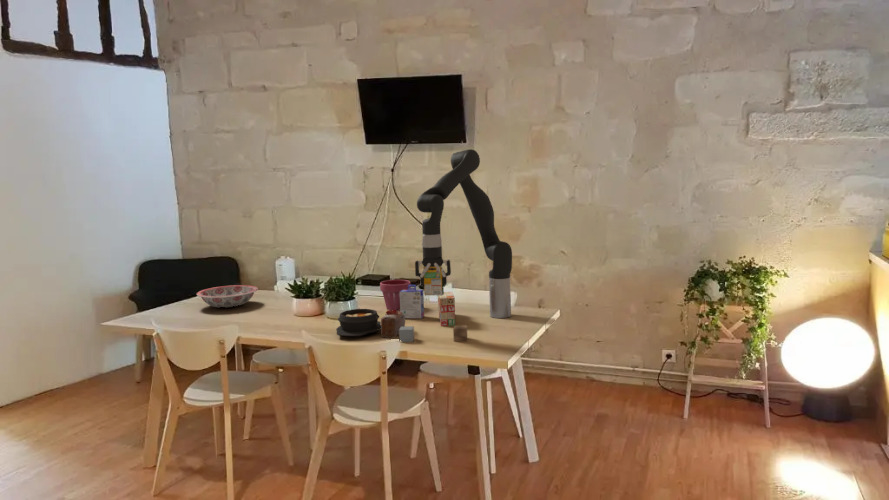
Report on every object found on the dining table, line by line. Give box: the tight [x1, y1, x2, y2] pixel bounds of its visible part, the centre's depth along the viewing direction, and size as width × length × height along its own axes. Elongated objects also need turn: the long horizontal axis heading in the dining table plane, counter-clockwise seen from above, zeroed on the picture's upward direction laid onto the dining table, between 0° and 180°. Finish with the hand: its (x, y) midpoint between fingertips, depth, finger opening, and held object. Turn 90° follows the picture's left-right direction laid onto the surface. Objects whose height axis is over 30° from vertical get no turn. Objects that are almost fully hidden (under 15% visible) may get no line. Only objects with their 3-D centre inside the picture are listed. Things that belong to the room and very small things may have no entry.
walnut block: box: [453, 325, 468, 342], centre depth 267 cm, size 5×5×5 cm
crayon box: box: [423, 266, 445, 297], centre depth 272 cm, size 7×3×12 cm, turn 78°
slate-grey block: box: [398, 326, 415, 343], centre depth 268 cm, size 5×5×5 cm
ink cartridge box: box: [399, 284, 425, 319], centre depth 305 cm, size 10×6×14 cm, turn 78°
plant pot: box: [379, 279, 412, 311], centre depth 324 cm, size 14×14×13 cm
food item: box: [380, 310, 406, 338], centre depth 279 cm, size 14×8×10 cm, turn 171°
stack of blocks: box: [437, 291, 456, 327], centre depth 298 cm, size 21×6×12 cm, turn 3°
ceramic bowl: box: [196, 284, 259, 308], centre depth 342 cm, size 29×29×8 cm
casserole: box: [335, 308, 381, 337], centre depth 283 cm, size 25×19×8 cm
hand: (433, 286), depth 272 cm, fingers closed on crayon box, 7 cm apart
